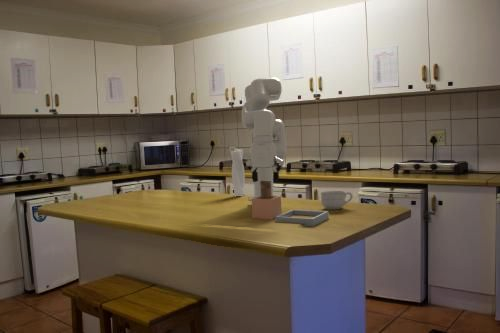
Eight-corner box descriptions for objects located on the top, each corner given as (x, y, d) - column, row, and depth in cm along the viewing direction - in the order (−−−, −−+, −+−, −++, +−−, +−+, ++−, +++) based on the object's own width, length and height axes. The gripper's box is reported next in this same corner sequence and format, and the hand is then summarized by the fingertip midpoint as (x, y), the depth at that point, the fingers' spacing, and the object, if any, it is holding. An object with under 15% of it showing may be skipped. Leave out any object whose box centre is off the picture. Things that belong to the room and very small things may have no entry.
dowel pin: (259, 217, 197) (258, 181, 195) (264, 215, 200) (263, 180, 199) (269, 217, 194) (267, 181, 193) (274, 215, 198) (272, 180, 197)
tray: (275, 223, 186) (275, 216, 186) (292, 216, 200) (292, 209, 200) (313, 226, 178) (313, 219, 178) (328, 218, 192) (328, 211, 192)
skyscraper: (233, 197, 263) (230, 147, 261) (230, 195, 270) (227, 146, 268) (247, 196, 265) (244, 146, 263) (243, 194, 272) (241, 146, 270)
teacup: (318, 210, 211) (317, 192, 210) (325, 206, 220) (325, 189, 220) (348, 211, 204) (348, 193, 204) (355, 207, 214) (354, 189, 213)
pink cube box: (252, 220, 196) (251, 198, 195) (263, 216, 204) (261, 195, 203) (271, 221, 191) (270, 199, 191) (281, 217, 199) (280, 196, 198)
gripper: (240, 141, 196) (243, 182, 197) (278, 139, 187) (280, 182, 188) (250, 140, 202) (252, 180, 203) (286, 139, 193) (288, 180, 194)
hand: (265, 181), depth 196 cm, fingers open, 9 cm apart
